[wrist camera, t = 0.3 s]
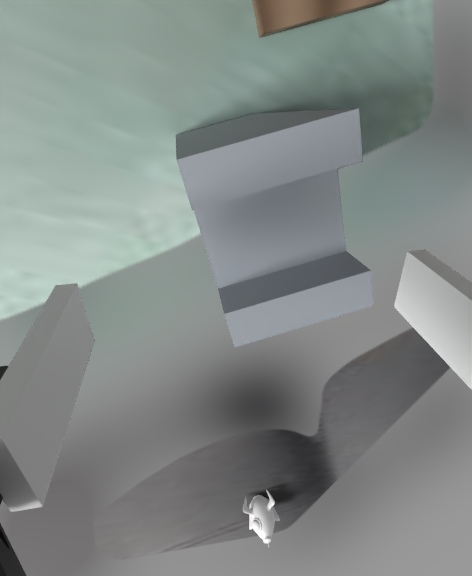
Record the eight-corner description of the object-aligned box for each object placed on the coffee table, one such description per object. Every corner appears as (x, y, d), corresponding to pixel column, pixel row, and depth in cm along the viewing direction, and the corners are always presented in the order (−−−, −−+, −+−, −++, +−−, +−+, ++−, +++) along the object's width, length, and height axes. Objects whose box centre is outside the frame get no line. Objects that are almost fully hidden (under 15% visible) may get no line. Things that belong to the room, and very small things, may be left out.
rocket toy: (240, 492, 61) (248, 542, 54) (270, 484, 61) (282, 531, 54) (246, 511, 63) (255, 560, 56) (275, 502, 64) (287, 550, 57)
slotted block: (204, 228, 40) (234, 347, 19) (175, 135, 35) (176, 159, 15) (271, 209, 40) (373, 305, 19) (252, 113, 35) (358, 108, 15)
